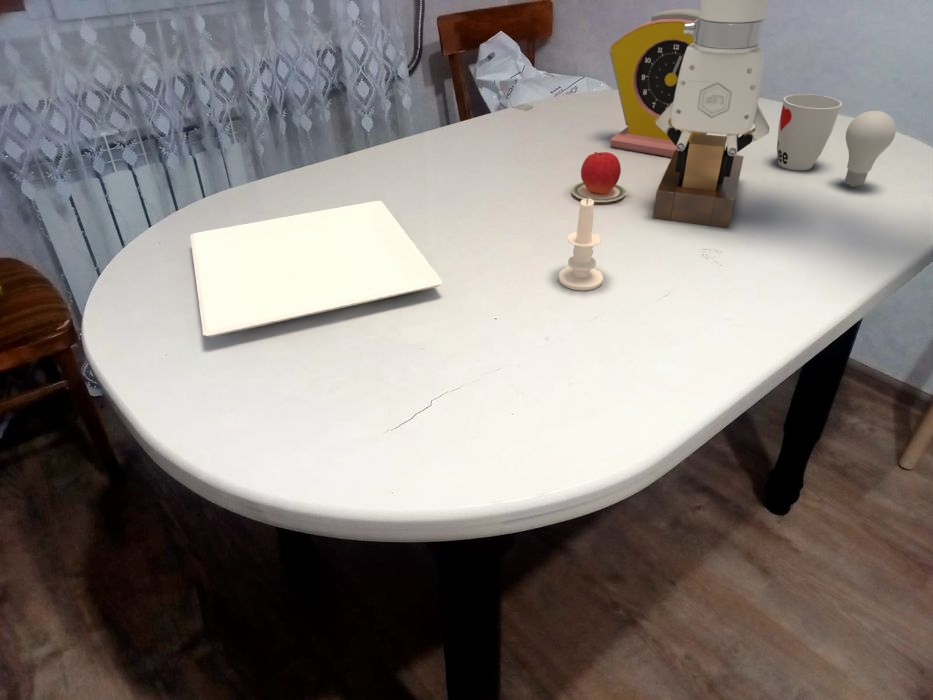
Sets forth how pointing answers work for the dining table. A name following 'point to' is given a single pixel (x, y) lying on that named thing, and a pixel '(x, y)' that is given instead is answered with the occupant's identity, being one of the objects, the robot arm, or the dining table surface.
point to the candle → (582, 253)
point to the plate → (304, 266)
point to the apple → (600, 178)
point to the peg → (704, 161)
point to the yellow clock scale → (650, 78)
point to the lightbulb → (867, 143)
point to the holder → (696, 198)
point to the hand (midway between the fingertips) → (701, 177)
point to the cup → (805, 129)
